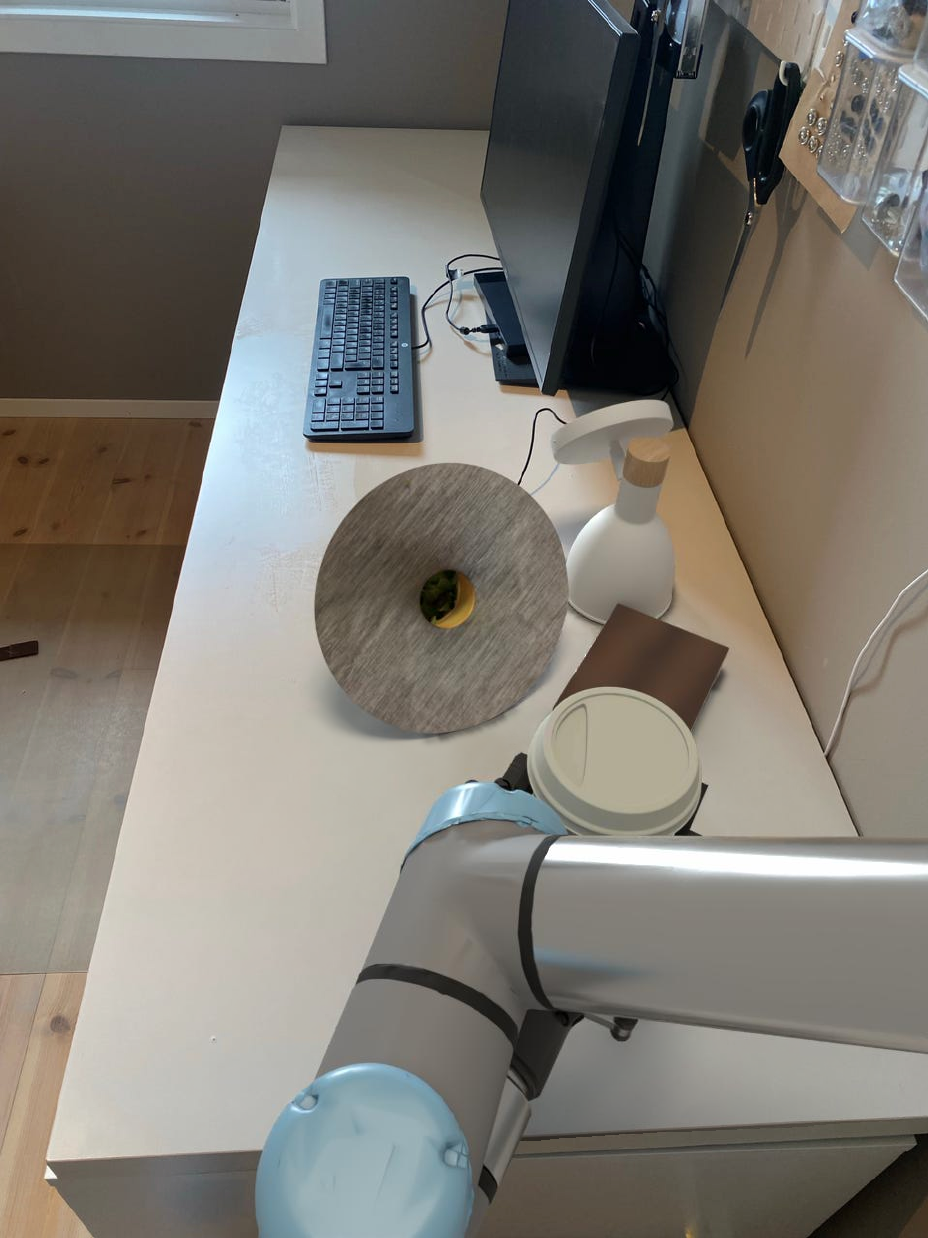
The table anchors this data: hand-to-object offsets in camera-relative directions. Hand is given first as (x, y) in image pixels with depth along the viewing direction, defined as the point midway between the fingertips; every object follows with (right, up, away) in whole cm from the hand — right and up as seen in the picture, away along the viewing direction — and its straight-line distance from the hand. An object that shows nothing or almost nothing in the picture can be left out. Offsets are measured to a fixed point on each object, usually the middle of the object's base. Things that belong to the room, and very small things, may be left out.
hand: (626, 762), depth 62 cm
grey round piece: (-14, +6, +31) cm, 34 cm away
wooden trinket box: (+6, +1, +28) cm, 28 cm away
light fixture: (+5, +15, +41) cm, 44 cm away
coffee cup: (-3, -8, +3) cm, 9 cm away
